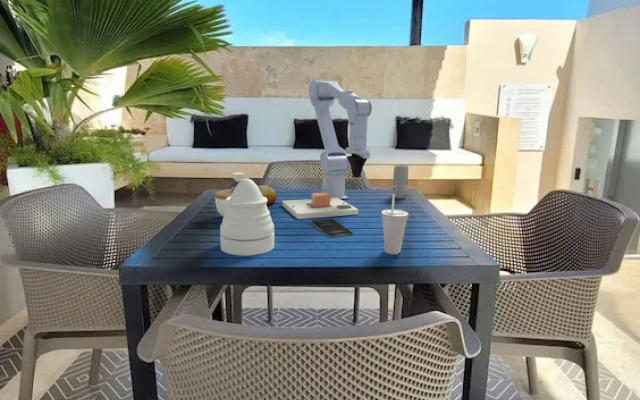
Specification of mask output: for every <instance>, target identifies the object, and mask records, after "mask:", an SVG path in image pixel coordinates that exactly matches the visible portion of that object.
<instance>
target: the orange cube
mask: <svg viewBox="0 0 640 400" xmlns="http://www.w3.org/2000/svg"><path fill="white" fill-rule="evenodd" d="M311 199H312V206H313V207H312V208H324V207H330V195H329V194H327V193H322V192H311Z"/></svg>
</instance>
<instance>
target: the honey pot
mask: <svg viewBox="0 0 640 400" xmlns="http://www.w3.org/2000/svg"><path fill="white" fill-rule="evenodd" d="M244 177H245V174H244V172H232V178H233V180H234V181H236V182H238V184H237V185H236V186H235V189H234V191H233V193H232V195H231V196H230V197H228V198H226V199H225V203H226V204H227V205H228V206H227V209H226V211H225V212H224V218H222V222H221V223H220V227H219V228H220V229H219V231H220V234H219V235H220V238H219V239H220V250H221V251H222V252H223V253H227V254H228V255H235V256H255V255H261V254H262V255H263V254H266V253H268V252H271V251H272V250H273V249H274V247H275V224H274V222H273V221H272V216H271V214H270V213H271V211H270V210H269V209H268V207H267V206H268V205H266V203H267V201H268V200H267V198H266V197H264V196H262V194H261V192H260V190H259V188H258V187H257V184H256V182H255V181H254V180H253V179H250V177H249V178H247V177H245V178H244Z"/></svg>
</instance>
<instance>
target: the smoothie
mask: <svg viewBox="0 0 640 400" xmlns="http://www.w3.org/2000/svg"><path fill="white" fill-rule="evenodd" d="M391 195H392V196H391V209H384V210H382V211H381V214H380V218H382V231H383V234H382V235H383V247H384V252H385V253H386V254H388V253H389V254H388V255H394V254H395V255H399V254H398V253H400V254H401V250H402V246H403V240H404V236H405V230H406V226H407V221H408V219H410V218H409V212H407V211H405V210H401V209H395V199H396V198H395V194H391Z"/></svg>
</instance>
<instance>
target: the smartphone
mask: <svg viewBox="0 0 640 400" xmlns="http://www.w3.org/2000/svg"><path fill="white" fill-rule="evenodd" d="M310 224H311V225H312V226H313V227H315V228H316V229H317V230H318V231H320V232H321V233H323V234H324V235H325V236H326V237H328V238H331V239H332V238H341V237H342V238H343V237H351V236H354V232H353V231H351V230H350V229H348V228H346V227H345V226H344V225H343V224H341V223H340V222H338V221H337V220H335V219H332V218H328V219H316V220H311V221H310Z"/></svg>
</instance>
